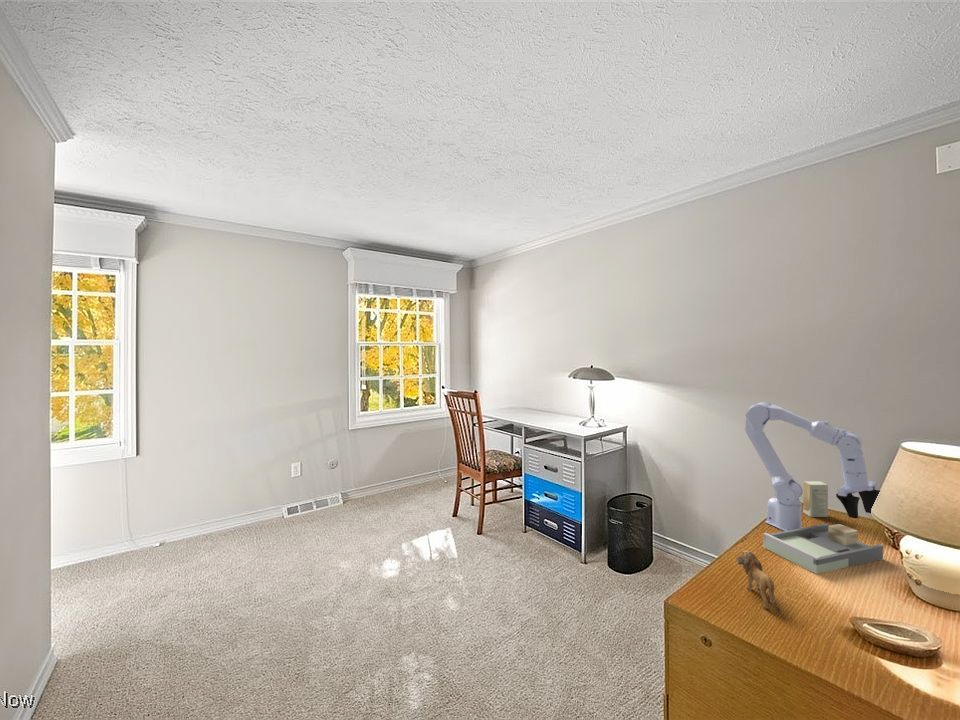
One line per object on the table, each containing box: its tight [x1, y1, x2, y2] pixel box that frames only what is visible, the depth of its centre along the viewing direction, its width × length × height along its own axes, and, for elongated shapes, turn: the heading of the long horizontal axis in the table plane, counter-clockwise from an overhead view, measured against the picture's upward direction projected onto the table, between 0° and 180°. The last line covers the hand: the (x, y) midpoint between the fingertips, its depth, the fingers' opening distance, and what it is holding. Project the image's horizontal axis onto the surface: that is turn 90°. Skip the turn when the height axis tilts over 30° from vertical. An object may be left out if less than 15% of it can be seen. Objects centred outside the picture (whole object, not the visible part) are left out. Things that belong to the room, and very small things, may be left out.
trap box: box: [762, 523, 884, 575], centre depth 129 cm, size 16×27×4 cm, turn 107°
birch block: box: [828, 523, 858, 546], centre depth 131 cm, size 5×5×4 cm
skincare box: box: [802, 480, 829, 518], centre depth 157 cm, size 6×4×12 cm
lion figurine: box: [735, 549, 781, 613], centre depth 108 cm, size 15×5×9 cm, turn 1°
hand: (861, 515), depth 132 cm, fingers open, 7 cm apart
